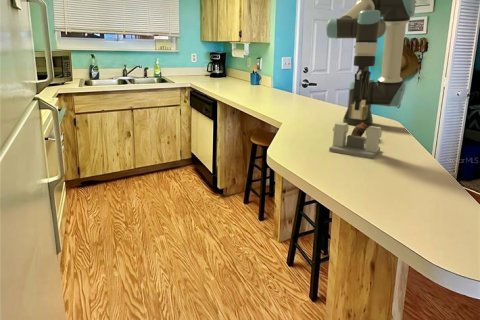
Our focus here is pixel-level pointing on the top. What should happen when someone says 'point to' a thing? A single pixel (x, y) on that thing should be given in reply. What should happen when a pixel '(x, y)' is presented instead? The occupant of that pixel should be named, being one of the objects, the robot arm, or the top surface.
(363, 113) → the box
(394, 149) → the top surface
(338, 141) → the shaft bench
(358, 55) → the robot arm
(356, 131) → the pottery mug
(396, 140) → the top surface
